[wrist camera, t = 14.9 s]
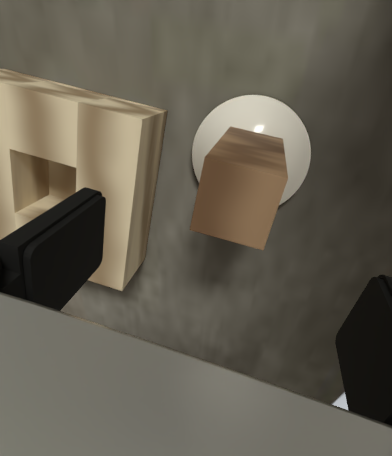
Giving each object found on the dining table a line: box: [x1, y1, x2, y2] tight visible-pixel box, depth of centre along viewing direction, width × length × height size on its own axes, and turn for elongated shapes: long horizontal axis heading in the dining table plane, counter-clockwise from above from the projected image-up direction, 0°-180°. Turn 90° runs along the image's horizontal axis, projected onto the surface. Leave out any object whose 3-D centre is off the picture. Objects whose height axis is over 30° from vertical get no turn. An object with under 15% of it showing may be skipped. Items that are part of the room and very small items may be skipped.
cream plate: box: [192, 95, 311, 205], centre depth 27 cm, size 10×10×1 cm
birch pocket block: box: [0, 69, 167, 291], centre depth 29 cm, size 16×16×6 cm
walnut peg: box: [190, 126, 288, 250], centre depth 22 cm, size 4×4×11 cm
